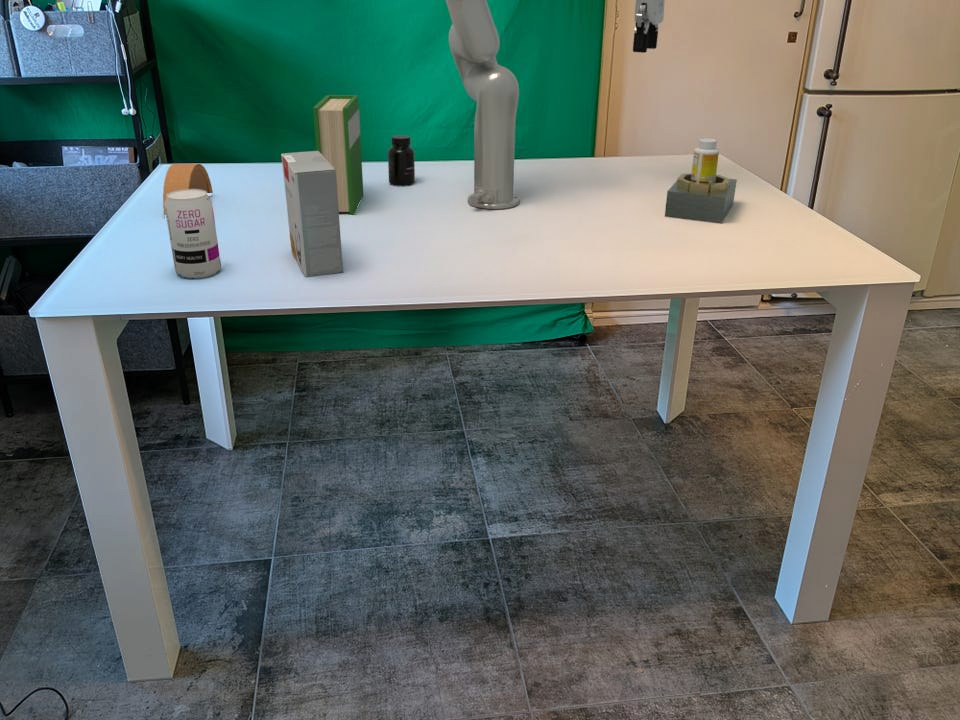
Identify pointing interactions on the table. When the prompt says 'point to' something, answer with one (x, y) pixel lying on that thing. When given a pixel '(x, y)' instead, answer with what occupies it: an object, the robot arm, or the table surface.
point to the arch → (186, 179)
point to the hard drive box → (313, 212)
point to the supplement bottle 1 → (401, 161)
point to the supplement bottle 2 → (705, 162)
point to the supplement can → (192, 233)
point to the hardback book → (341, 145)
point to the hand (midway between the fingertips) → (644, 50)
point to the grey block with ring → (700, 199)
